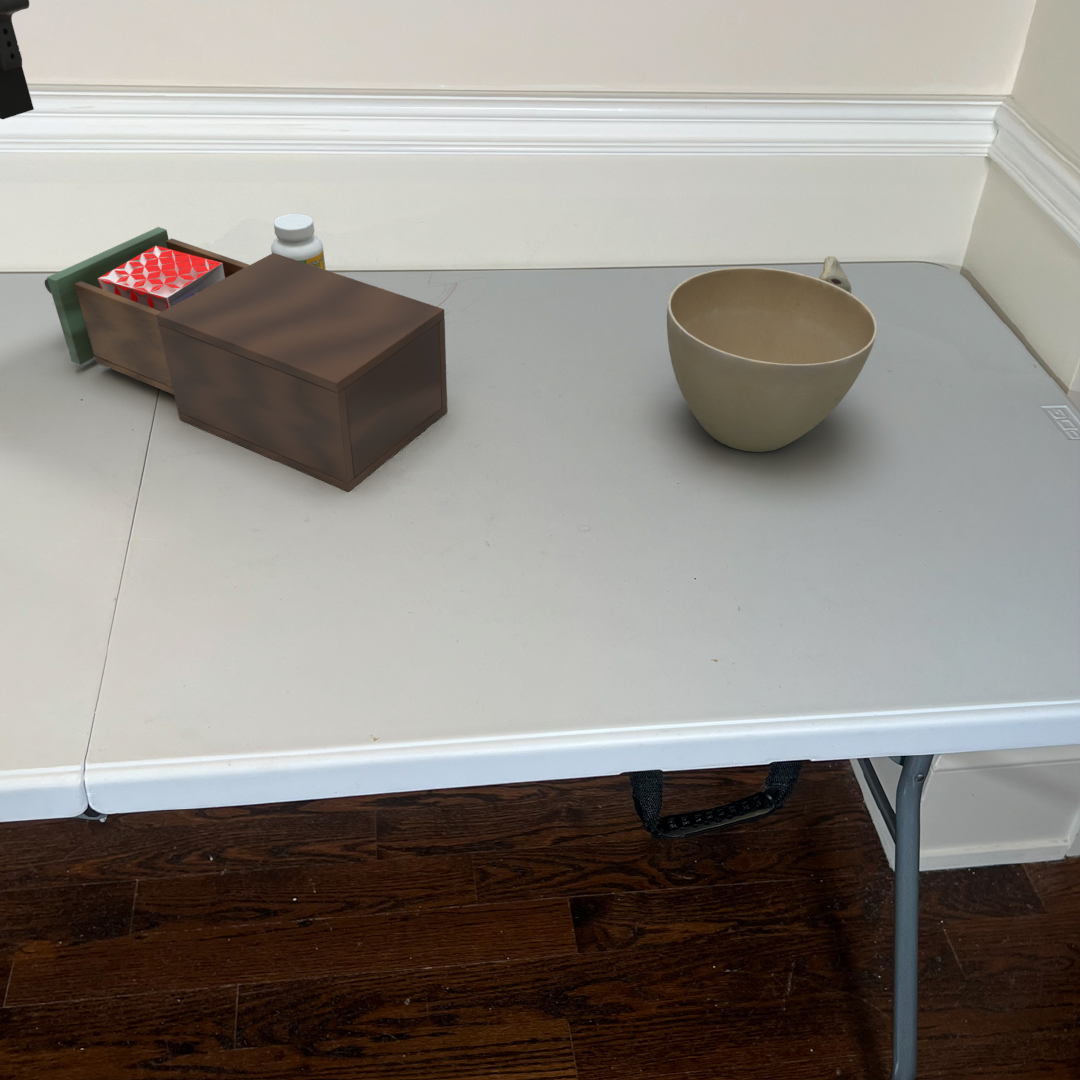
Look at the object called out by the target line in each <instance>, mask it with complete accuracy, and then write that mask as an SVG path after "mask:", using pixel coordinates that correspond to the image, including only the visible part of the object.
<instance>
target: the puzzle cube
mask: <svg viewBox="0 0 1080 1080" xmlns="http://www.w3.org/2000/svg"><path fill="white" fill-rule="evenodd" d="M223 279H225V275H224V269H223V264H222V263H220V262H216V261H213V260H209V259H205V258H201V257H197V256H193V255H190V254H186V253H182V252H178V251H174V250H171V249H167V248H163V247H159V246H154V247H153V248H151V249H149V250H147V251H146V252H144V253H142V254H140V255H138V256H137V257H135V258H133V259H131V260H130V261H128V262H126V263H124V264H123V265H121V266H119V267H117V268H115V269H114V270H112V271H110V272H108V273H107V274H105V275H103V276H101V277H100V278H98V281H99V285H100V288H101V289H103V290H106V291H108V292H111V293H114V294H116V295H119V296H122V297H124V298H127V299H130V300H132V301H135V302H138V303H140V304H143V305H146V306H148V307H151V308H154V309H156V310H159V311H161V312H162V311H164V310H166V309H168V308H170V307H171V306H173V305H175V304H177V303H179V302H181V301H183V300H185V299H187V298H188V297H190V296H192V295H194V294H196V293H198V292H200V291H202V290H204V289H206V288H207V287H209V286H211V285H213V284H215V283H217V282H219V281H221V280H223Z"/></svg>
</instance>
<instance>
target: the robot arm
mask: <svg viewBox="0 0 1080 1080" xmlns="http://www.w3.org/2000/svg"><path fill="white" fill-rule="evenodd" d="M28 8H30V0H0V120H5V119H9V118H12V117H16V116H18V115H21V114H24V113H28V112H31V111H34V110H35V108H34V105H33V101H32V97H31V94H30V89H29V87H28V83H27V79H26V75H25V72H24V68H23V57H22V53H21V51H20V46H19V44H18V38H17V36H16V35H17V34H16V32H15V28H14V25H13V21H12V20H13V15H14V14H15V13H18V12H20V11H24V10H27V9H28Z"/></svg>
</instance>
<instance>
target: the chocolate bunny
mask: <svg viewBox="0 0 1080 1080" xmlns="http://www.w3.org/2000/svg"><path fill="white" fill-rule="evenodd" d="M822 269H823V270H822V272H821V274H820V276H819V278H818V279H821V280H824V281H826V282H829V283H831V284H833V285H836V286H838V287H840V288H842V289H844V290H845V291H847V292H849V293H851V294H852V285H851V282H850V281H849V278H848V276H847V275H846V273H845V272H844V270H843V268H842V266H841V261H839V260H838V259H837V258H836V257H835V256H831V255H829V256H826V257H825V259H824V260H823V268H822Z"/></svg>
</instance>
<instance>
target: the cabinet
mask: <svg viewBox="0 0 1080 1080" xmlns="http://www.w3.org/2000/svg"><path fill="white" fill-rule="evenodd" d="M156 318H157V323H158V327H159V331H160V336H161V340H162V344H163V349H164V353H165V357H166V362H167V366H168V370H169V375H170V379H171V383H172V388H173V392H174V395H173V397H174V400H175V404H176V408H177V414H178V418H179V421H182V422H184V423H186V424H189V425H191V426H193V427H196V428H198V429H201V430H203V431H205V432H208V433H210V434H213V435H215V436H217V437H218V438H222V439H224V440H226V441H229V442H231V443H233V444H236V445H238V446H240V447H243V448H245V449H247V450H249V451H252V452H254V453H257V454H259V455H261V456H263V457H266V458H269V459H270V460H273V461H275V462H278V463H280V464H283V465H285V466H287V467H289V468H292V469H294V470H297V471H299V472H302V473H304V474H306V475H308V476H311V477H312V478H315V479H318V480H319V481H323V482H325V483H327V484H330V485H332V486H334V487H336V488H339V489H342V490H343V491H345V492H350V491H352V490H353V489H354V488H356V487H357V485H359V484H360V483H361V482H363V481H364V480H365V479H367V477H369V476H370V475H371V474H373V473H374V472H375V471H376V470H378V469H379V468H380V467H381V466H382V465H384V464H385V463H386V462H388V460H390V459H391V458H392V457H394V456H395V455H396V454H398V453H399V452H400V451H401V450H402V449H404V447H406V446H407V445H408V444H410V443H411V442H412V441H414V440H415V439H416V438H417V437H418V436H420V435H421V434H422V433H423V432H425V431H426V430H427V429H428V428H429V427H431V426H432V425H433V424H435V422H437V421H438V420H439V419H440V418H441V417H443V416H444V415H445V414H447V413H448V390H447V389H448V388H447V387H448V384H447V383H448V382H447V352H446V351H447V350H446V347H447V346H446V321H445V319H446V318H445V309H444V308H442V307H439V306H436V305H433V304H430V303H426V302H425V301H424V302H423V301H421V300H418V299H414V298H412V297H408V296H406V295H403V294H399V293H396V292H393V291H391V290H388V289H384V288H381V287H378V286H375V285H372V284H369V283H366V282H363V281H360V280H357V279H354V278H351V277H347V276H345V275H342V274H338V273H336V272H333V271H330V270H324V269H321V268H318V267H315V266H312V265H309V264H306V263H303V262H300V261H296V260H293V259H290V258H287V257H284V256H281V255H278V254H275V253H272V252H271V253H270V254H268V255H265V256H264V257H263V258H261V259H259V260H257V261H255V262H253V263H251V264H249V266H247V267H245V268H244V269H242V270H240V271H238V272H236V273H234V274H232V275H230V276H228V277H226V278H225V279H223V280H221V281H219V282H217V283H215V284H213V285H211V286H209V287H207V288H206V289H204V290H202V291H200V292H198V293H196V294H194V295H192V296H190V297H188V298H187V299H185V300H183V301H181V302H179V303H177V304H175V305H173V306H171V307H170V308H168V309H166V310H164V311H162V312H160V313H158V314H156Z"/></svg>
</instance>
